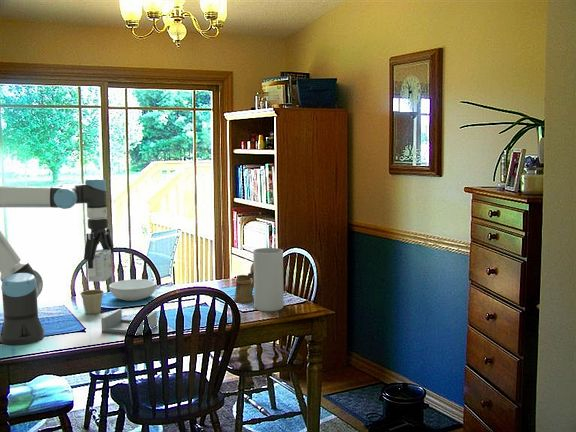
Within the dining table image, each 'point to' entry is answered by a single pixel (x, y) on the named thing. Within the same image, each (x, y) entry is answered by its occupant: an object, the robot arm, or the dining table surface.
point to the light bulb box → (102, 265)
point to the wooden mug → (245, 287)
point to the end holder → (123, 323)
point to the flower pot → (92, 301)
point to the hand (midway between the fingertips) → (100, 273)
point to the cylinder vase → (268, 279)
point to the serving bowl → (132, 289)
